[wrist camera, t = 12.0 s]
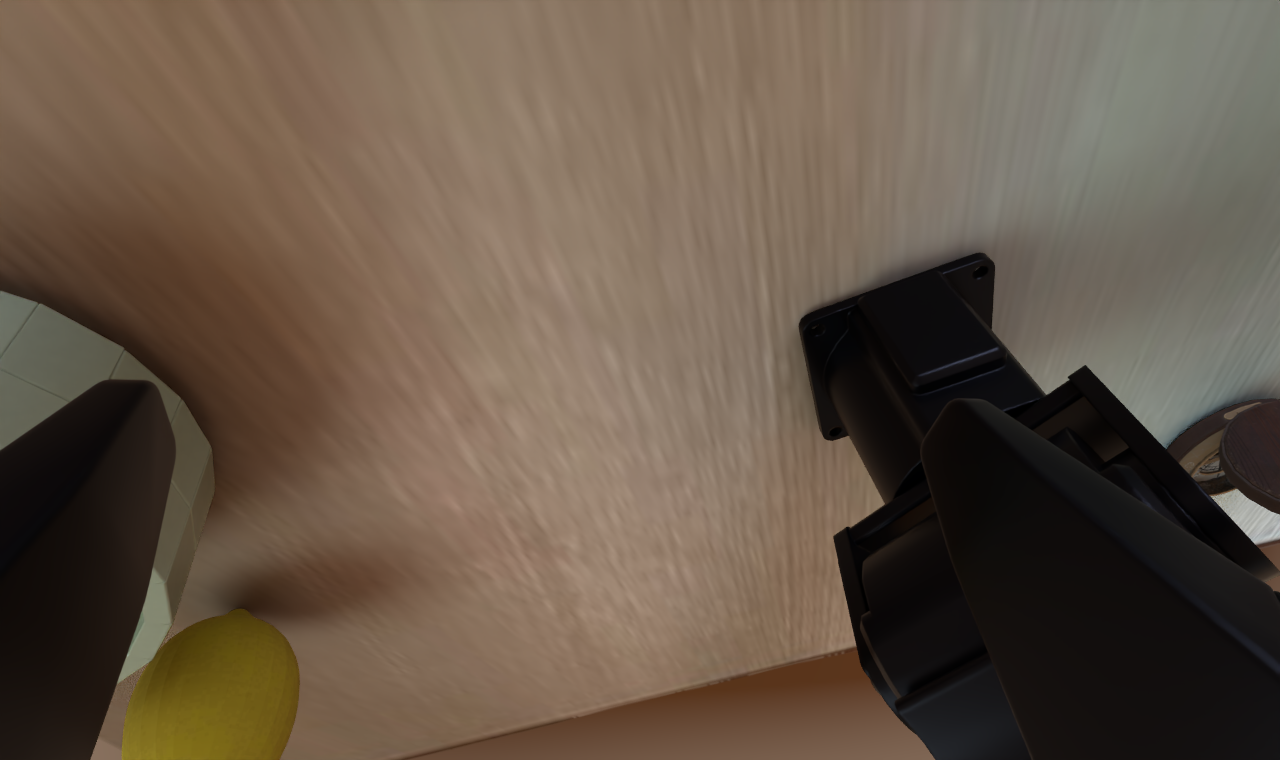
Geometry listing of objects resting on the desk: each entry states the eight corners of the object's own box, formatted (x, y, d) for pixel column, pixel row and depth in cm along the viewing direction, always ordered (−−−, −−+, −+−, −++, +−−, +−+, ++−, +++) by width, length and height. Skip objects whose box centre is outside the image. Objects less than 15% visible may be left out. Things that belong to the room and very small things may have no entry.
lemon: (271, 559, 28) (220, 782, 22) (336, 625, 32) (307, 830, 26) (130, 593, 28) (42, 827, 22) (213, 656, 31) (157, 868, 26)
